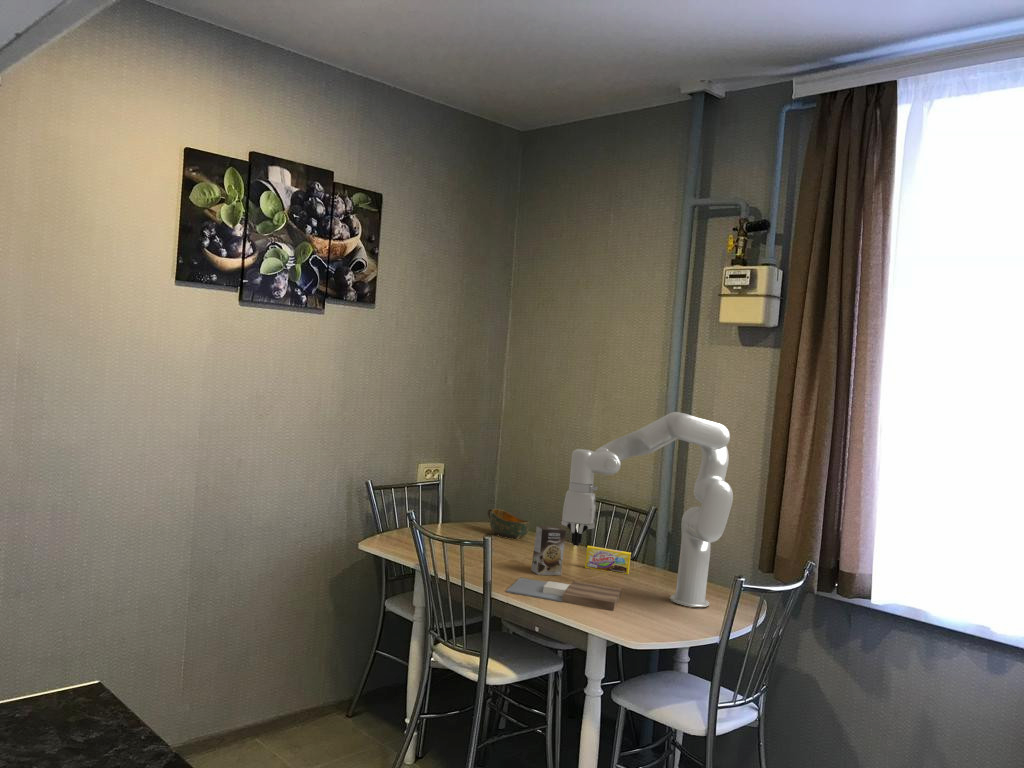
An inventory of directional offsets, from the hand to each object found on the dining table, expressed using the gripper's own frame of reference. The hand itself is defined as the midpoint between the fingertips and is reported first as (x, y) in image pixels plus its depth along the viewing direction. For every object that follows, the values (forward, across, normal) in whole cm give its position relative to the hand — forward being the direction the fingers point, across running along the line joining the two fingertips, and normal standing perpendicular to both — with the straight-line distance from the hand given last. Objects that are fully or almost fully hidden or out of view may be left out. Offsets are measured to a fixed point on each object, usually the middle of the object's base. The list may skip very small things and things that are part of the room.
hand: (576, 544), depth 267 cm
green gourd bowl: (+16, +41, -76) cm, 88 cm away
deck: (+16, -7, 0) cm, 18 cm away
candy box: (+17, -6, -42) cm, 45 cm away
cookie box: (+16, +13, -24) cm, 32 cm away
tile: (+16, +5, +1) cm, 17 cm away
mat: (+16, +10, 0) cm, 19 cm away
